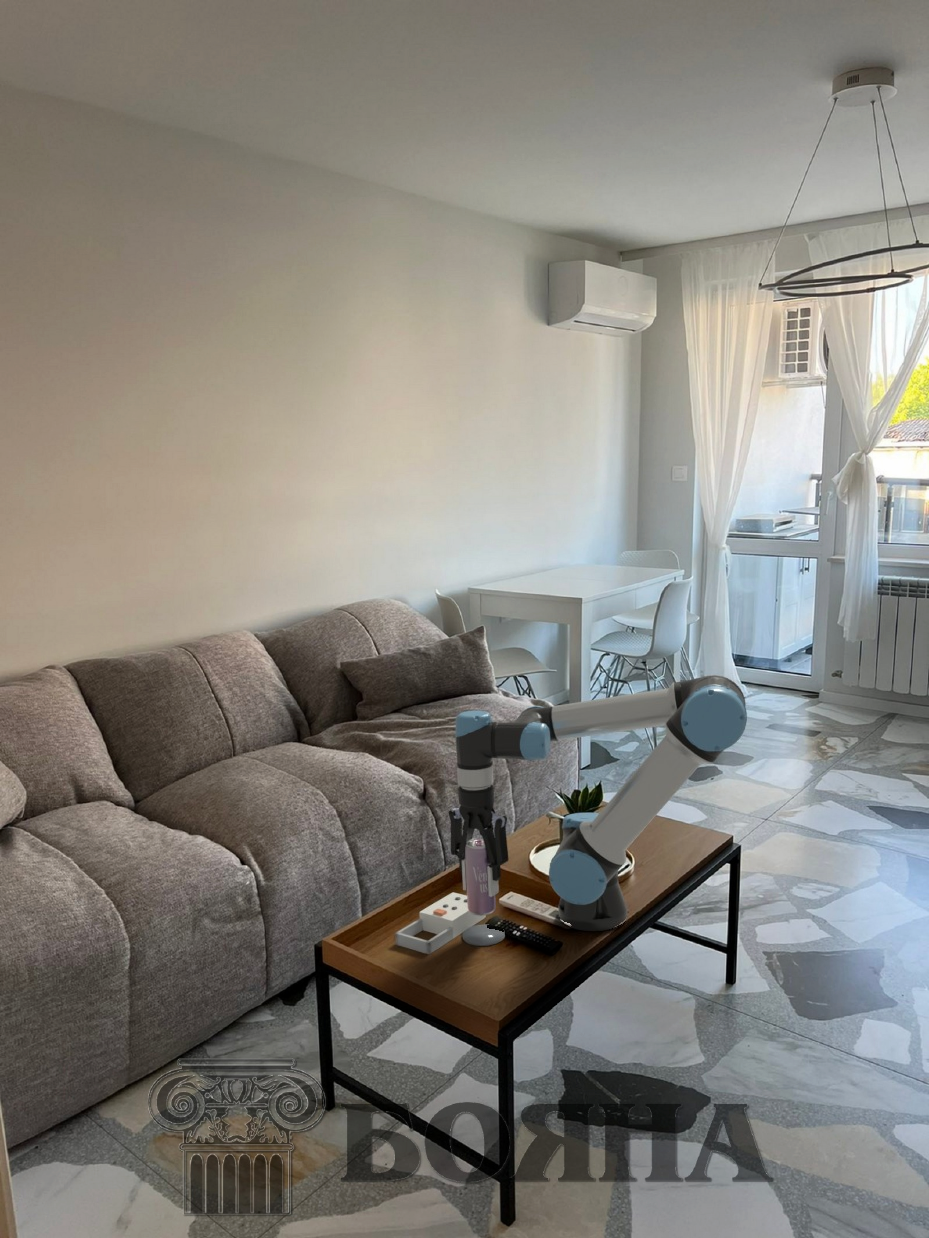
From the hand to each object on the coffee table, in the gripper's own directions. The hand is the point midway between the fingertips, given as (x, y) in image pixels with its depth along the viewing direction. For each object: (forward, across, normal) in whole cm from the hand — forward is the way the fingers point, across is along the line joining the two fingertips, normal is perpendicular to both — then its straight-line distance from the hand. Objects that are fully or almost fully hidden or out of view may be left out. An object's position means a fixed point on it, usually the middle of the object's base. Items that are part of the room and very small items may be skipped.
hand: (480, 890), depth 200 cm
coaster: (+10, 0, 0) cm, 10 cm away
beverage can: (+5, 0, 0) cm, 5 cm away
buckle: (+10, +9, -1) cm, 14 cm away
